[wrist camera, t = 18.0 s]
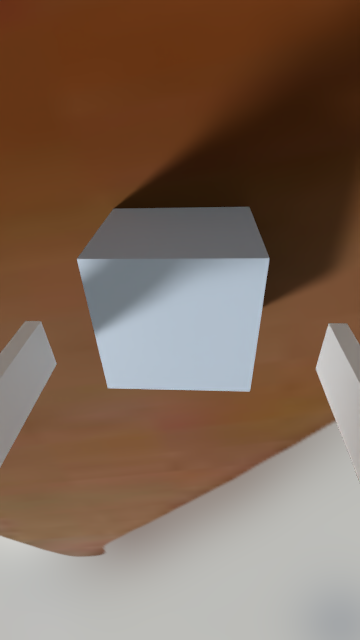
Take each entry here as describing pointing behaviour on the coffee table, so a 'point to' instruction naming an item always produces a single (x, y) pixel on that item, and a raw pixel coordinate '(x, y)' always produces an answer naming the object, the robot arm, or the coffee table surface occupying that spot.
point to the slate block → (176, 297)
